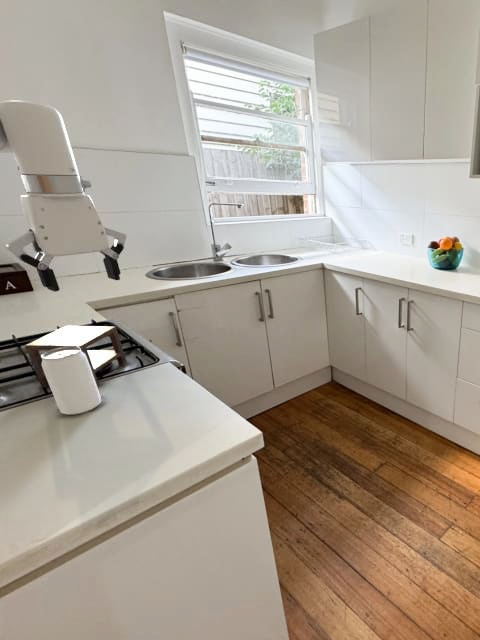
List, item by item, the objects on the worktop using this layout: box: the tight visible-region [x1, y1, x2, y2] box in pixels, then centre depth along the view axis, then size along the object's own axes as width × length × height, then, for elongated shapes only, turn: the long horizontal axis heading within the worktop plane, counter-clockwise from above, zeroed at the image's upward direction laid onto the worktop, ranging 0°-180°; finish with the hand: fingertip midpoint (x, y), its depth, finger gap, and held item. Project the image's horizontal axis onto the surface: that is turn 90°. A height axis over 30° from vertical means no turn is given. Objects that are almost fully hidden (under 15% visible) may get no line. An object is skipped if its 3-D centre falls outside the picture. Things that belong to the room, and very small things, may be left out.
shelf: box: [24, 325, 128, 388], centre depth 85 cm, size 11×11×10 cm
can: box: [40, 346, 102, 416], centre depth 73 cm, size 6×6×12 cm
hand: (85, 284), depth 72 cm, fingers open, 9 cm apart
